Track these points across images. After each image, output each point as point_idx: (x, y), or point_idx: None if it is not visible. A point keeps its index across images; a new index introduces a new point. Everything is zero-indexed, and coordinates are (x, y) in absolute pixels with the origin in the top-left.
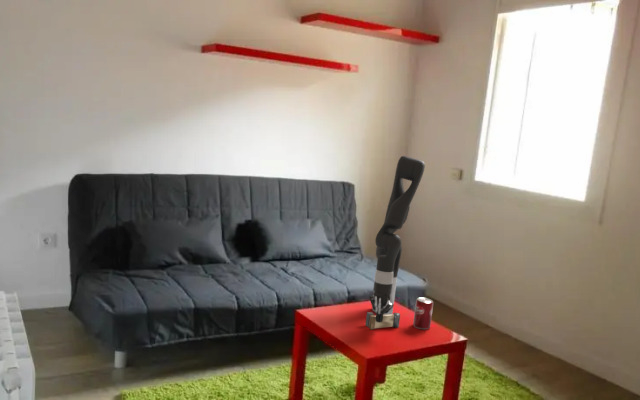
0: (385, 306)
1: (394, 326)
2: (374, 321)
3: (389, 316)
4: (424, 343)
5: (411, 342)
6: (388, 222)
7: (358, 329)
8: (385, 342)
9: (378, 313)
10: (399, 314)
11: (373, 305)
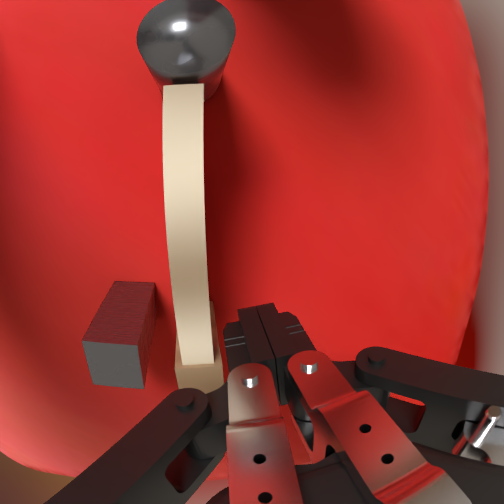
0: (376, 419)
1: (209, 96)
2: (218, 342)
3: (202, 158)
4: (466, 111)
5: (448, 171)
6: None
7: None
8: (399, 320)
9: (283, 400)
10: (215, 11)
11: (195, 481)
